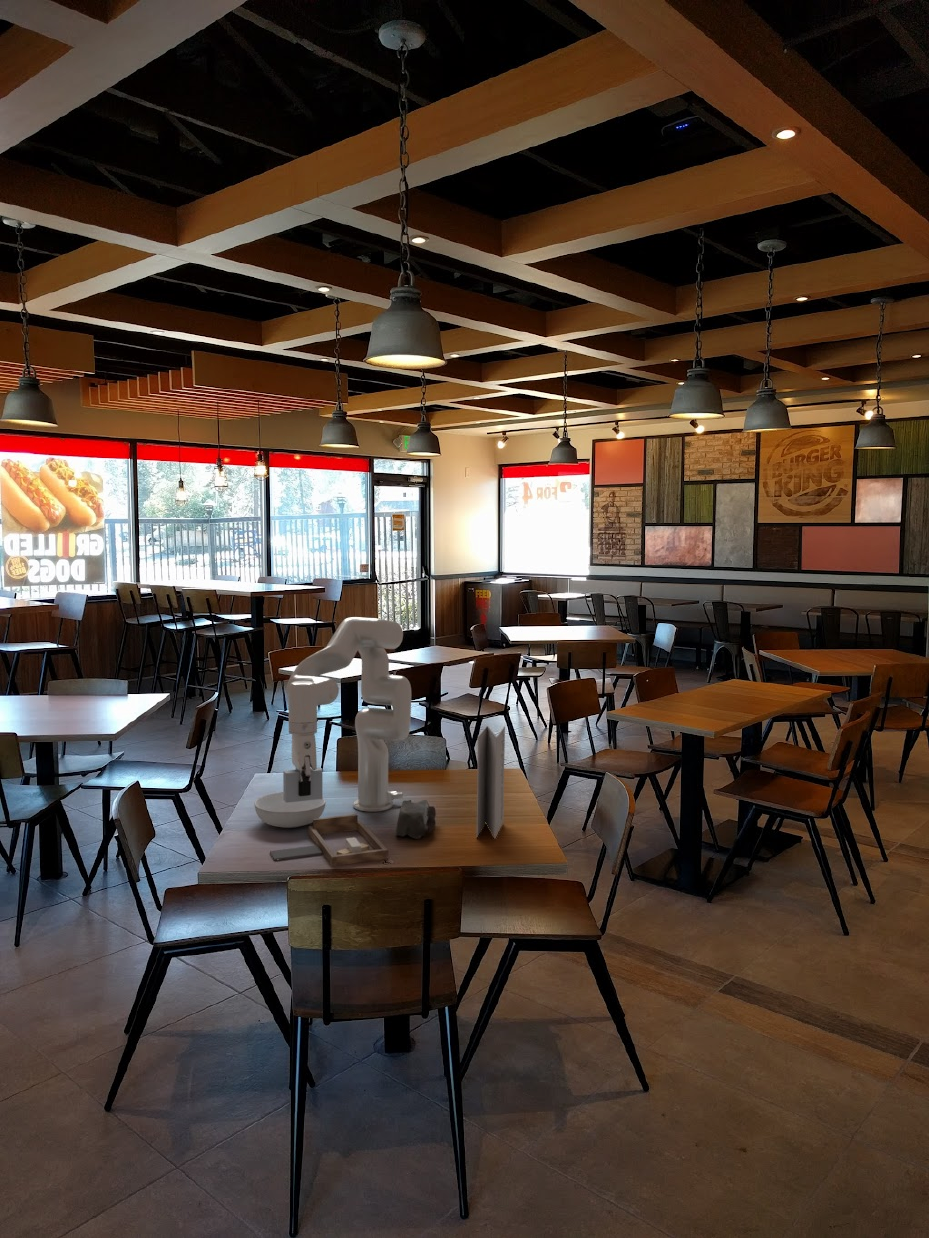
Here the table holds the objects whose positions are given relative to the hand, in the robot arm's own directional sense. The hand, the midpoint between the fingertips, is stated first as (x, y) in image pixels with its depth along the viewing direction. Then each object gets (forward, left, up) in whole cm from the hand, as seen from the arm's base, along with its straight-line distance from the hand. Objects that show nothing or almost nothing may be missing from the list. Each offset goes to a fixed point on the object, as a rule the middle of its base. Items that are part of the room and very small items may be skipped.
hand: (302, 792), depth 246 cm
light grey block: (0, 0, -2) cm, 2 cm away
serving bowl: (-2, -25, -17) cm, 31 cm away
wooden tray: (-12, 0, -17) cm, 21 cm away
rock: (-35, -5, -17) cm, 39 cm away
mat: (+2, +1, -17) cm, 17 cm away
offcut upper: (-12, +7, -15) cm, 20 cm away
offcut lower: (-12, +6, -17) cm, 22 cm away
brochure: (-55, +3, -17) cm, 58 cm away
